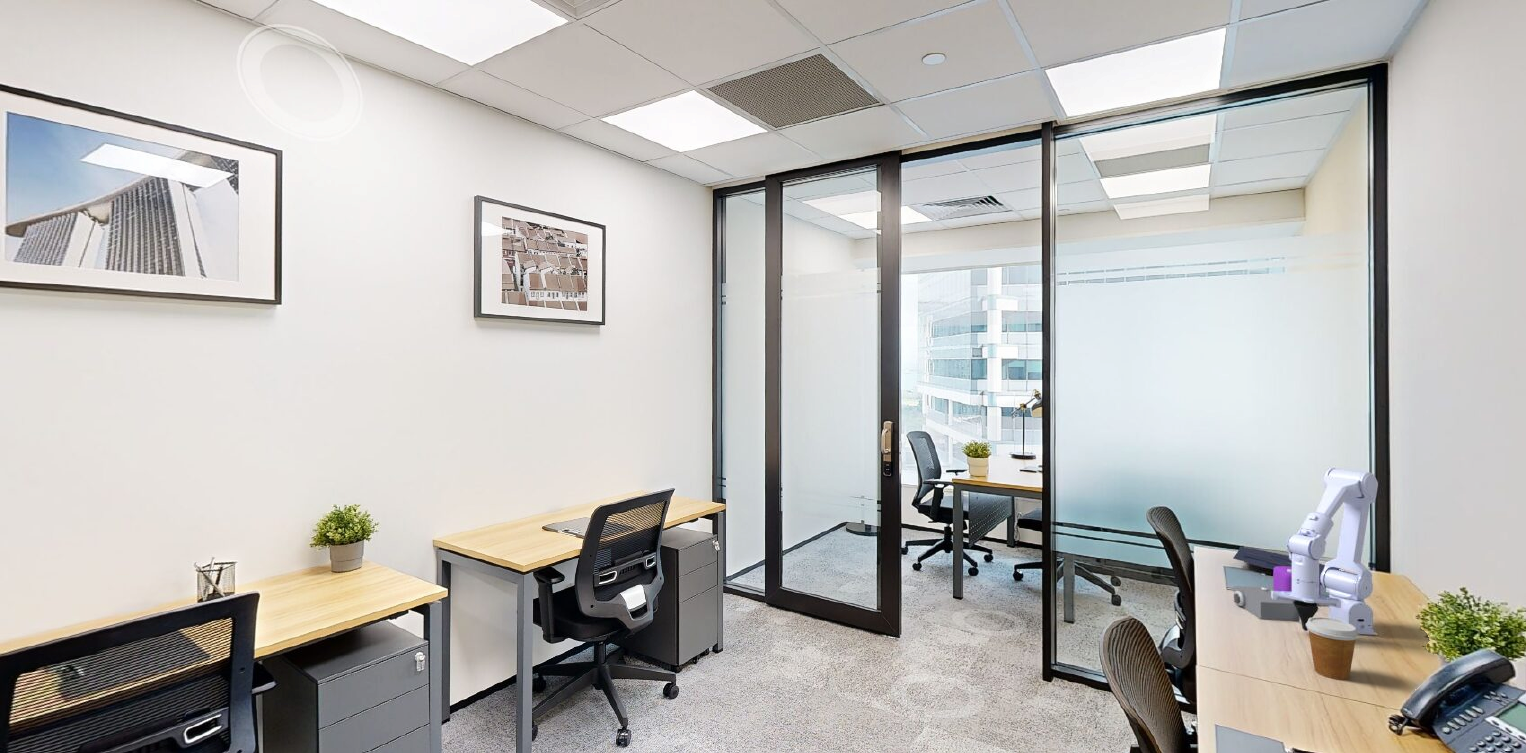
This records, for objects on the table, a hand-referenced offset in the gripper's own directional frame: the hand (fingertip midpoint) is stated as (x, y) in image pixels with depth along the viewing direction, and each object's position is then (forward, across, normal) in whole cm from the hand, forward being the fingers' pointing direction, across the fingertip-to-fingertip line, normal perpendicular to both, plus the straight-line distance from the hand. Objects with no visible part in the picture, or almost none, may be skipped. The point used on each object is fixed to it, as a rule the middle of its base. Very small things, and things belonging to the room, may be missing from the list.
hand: (1305, 629), depth 176 cm
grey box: (+2, -6, +18) cm, 19 cm away
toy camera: (+2, +4, +35) cm, 35 cm away
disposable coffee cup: (+2, 0, -24) cm, 24 cm away
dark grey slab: (+2, +9, +68) cm, 68 cm away
